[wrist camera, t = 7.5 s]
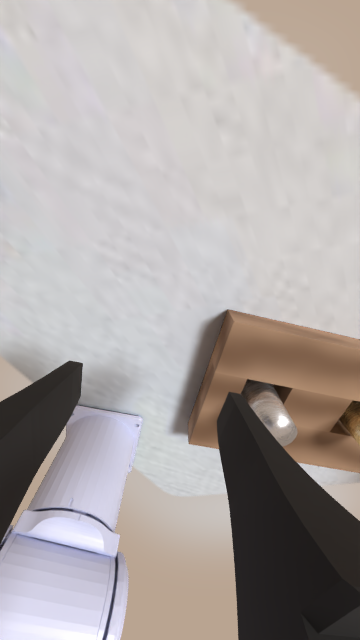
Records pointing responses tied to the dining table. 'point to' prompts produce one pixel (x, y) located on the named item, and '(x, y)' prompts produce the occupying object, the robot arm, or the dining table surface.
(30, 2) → the dining table surface
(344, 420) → the brass pin
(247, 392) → the steel pin
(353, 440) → the pin board
